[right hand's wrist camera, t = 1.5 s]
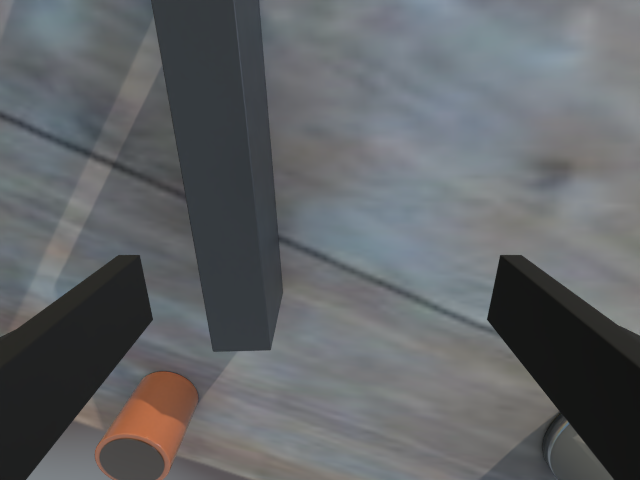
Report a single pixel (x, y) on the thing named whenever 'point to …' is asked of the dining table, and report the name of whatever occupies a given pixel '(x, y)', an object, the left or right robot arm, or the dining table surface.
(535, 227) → the dining table surface
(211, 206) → the long box
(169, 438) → the terracotta pot
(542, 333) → the right robot arm
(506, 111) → the dining table surface
